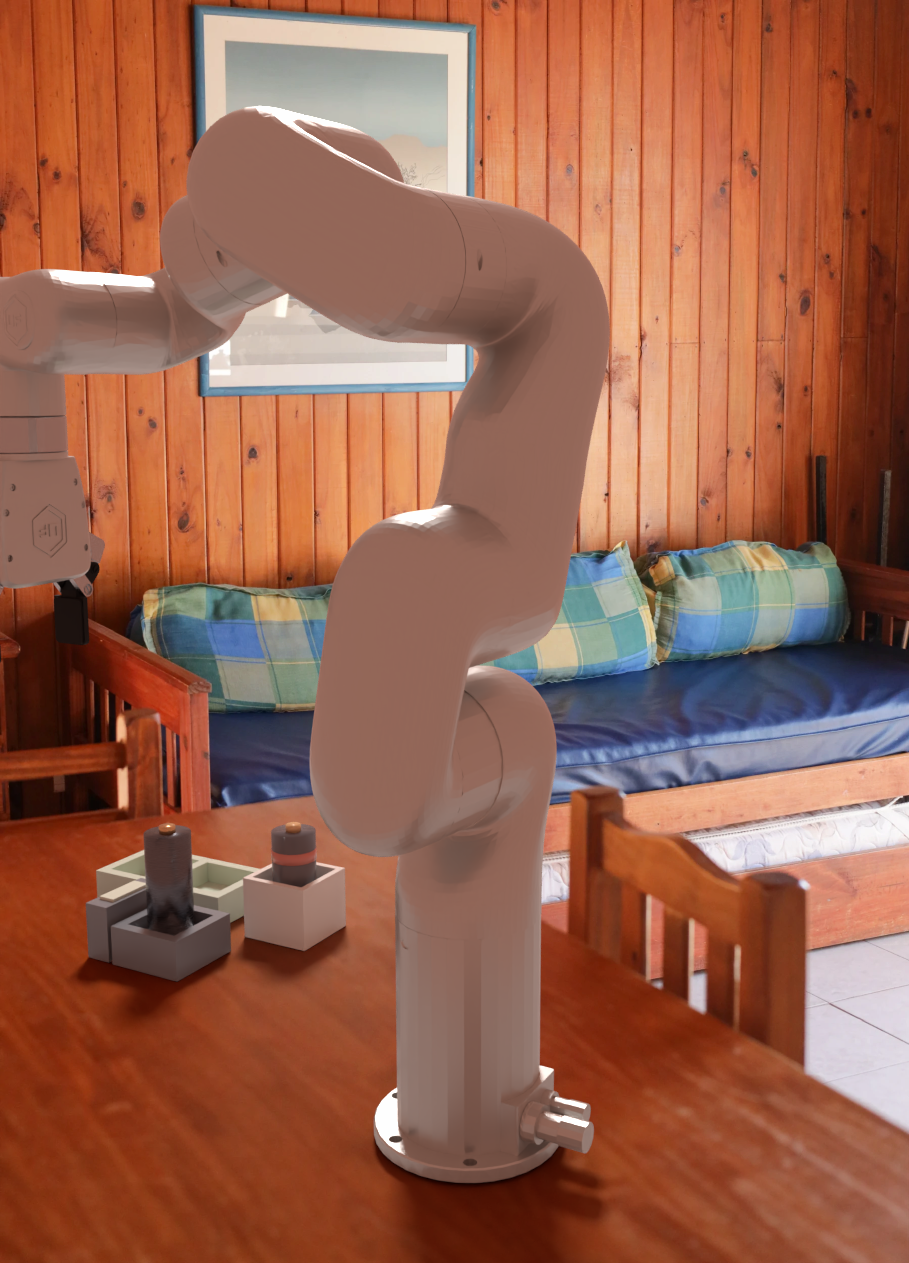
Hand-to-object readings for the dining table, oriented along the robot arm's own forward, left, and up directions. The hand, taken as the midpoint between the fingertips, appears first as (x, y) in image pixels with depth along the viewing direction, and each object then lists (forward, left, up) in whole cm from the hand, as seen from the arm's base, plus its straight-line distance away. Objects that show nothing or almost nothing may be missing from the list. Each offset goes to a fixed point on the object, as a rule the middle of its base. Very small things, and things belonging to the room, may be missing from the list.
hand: (29, 653), depth 109 cm
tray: (+1, -19, -28) cm, 34 cm away
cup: (-13, -18, -28) cm, 36 cm away
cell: (-7, -8, -26) cm, 28 cm away
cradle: (-5, -8, -28) cm, 30 cm away
